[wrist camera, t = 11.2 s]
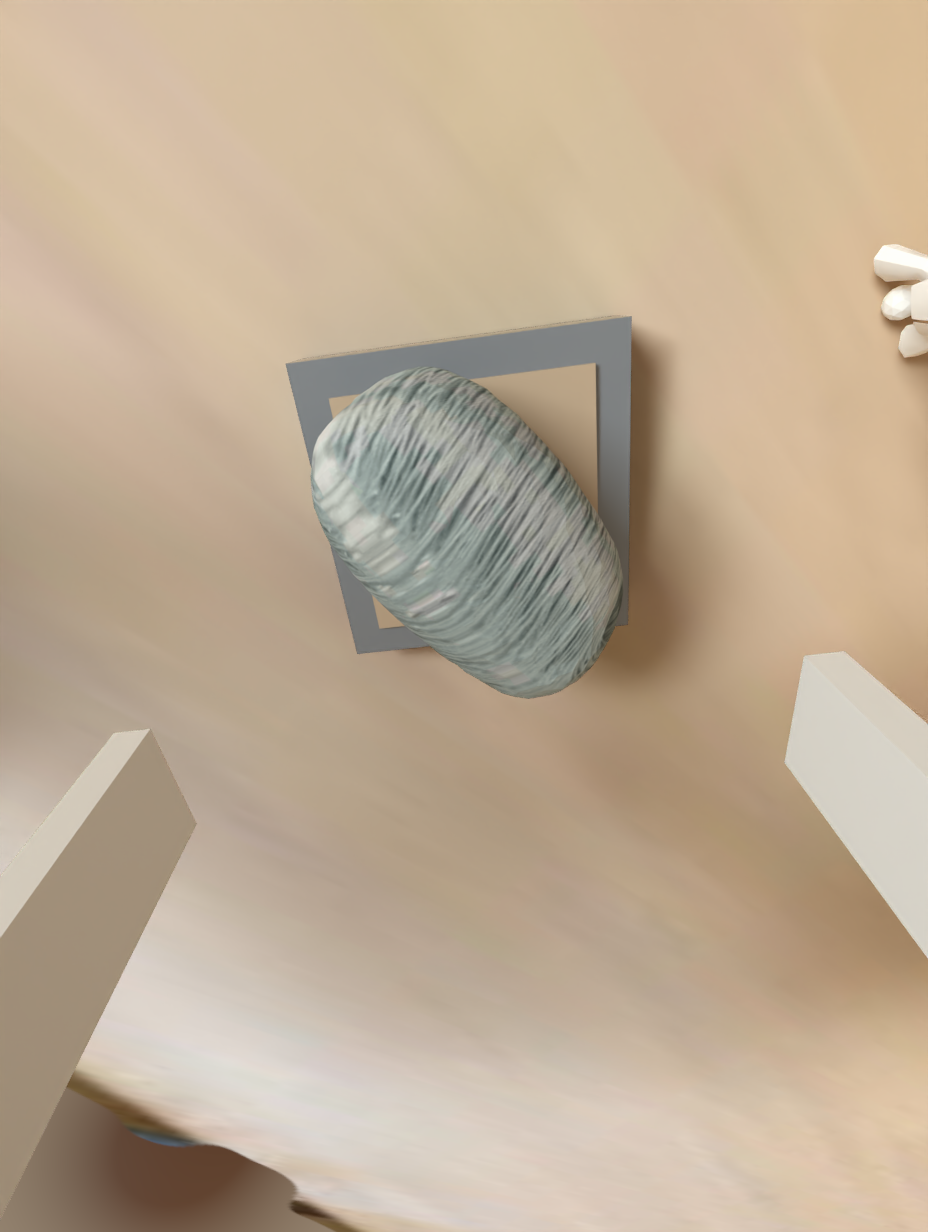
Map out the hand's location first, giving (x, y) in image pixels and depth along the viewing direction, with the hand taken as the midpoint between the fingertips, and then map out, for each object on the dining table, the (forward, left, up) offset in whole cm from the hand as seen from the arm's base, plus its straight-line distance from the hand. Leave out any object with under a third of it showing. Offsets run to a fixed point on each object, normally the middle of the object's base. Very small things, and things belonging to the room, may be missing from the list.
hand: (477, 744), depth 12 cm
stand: (0, 0, -19) cm, 19 cm away
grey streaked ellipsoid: (0, 0, -16) cm, 16 cm away
